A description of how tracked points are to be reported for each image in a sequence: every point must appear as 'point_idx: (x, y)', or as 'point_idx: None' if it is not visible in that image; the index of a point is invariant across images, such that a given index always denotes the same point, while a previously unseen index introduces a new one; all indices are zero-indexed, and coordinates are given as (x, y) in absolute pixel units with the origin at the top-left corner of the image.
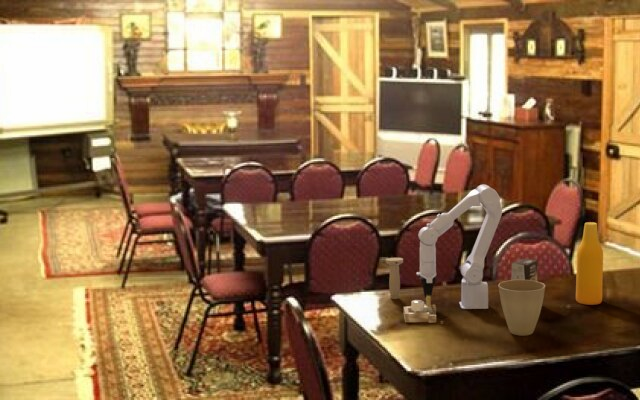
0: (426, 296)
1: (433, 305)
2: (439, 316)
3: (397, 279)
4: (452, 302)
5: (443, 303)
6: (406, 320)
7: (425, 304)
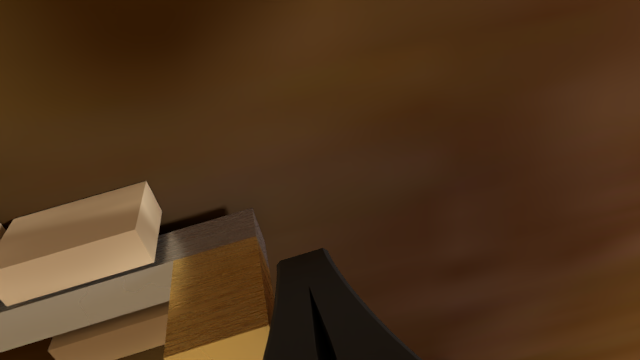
0: (205, 328)
1: (141, 335)
2: (23, 352)
3: None
4: (476, 319)
5: (450, 276)
6: None
7: (151, 257)
